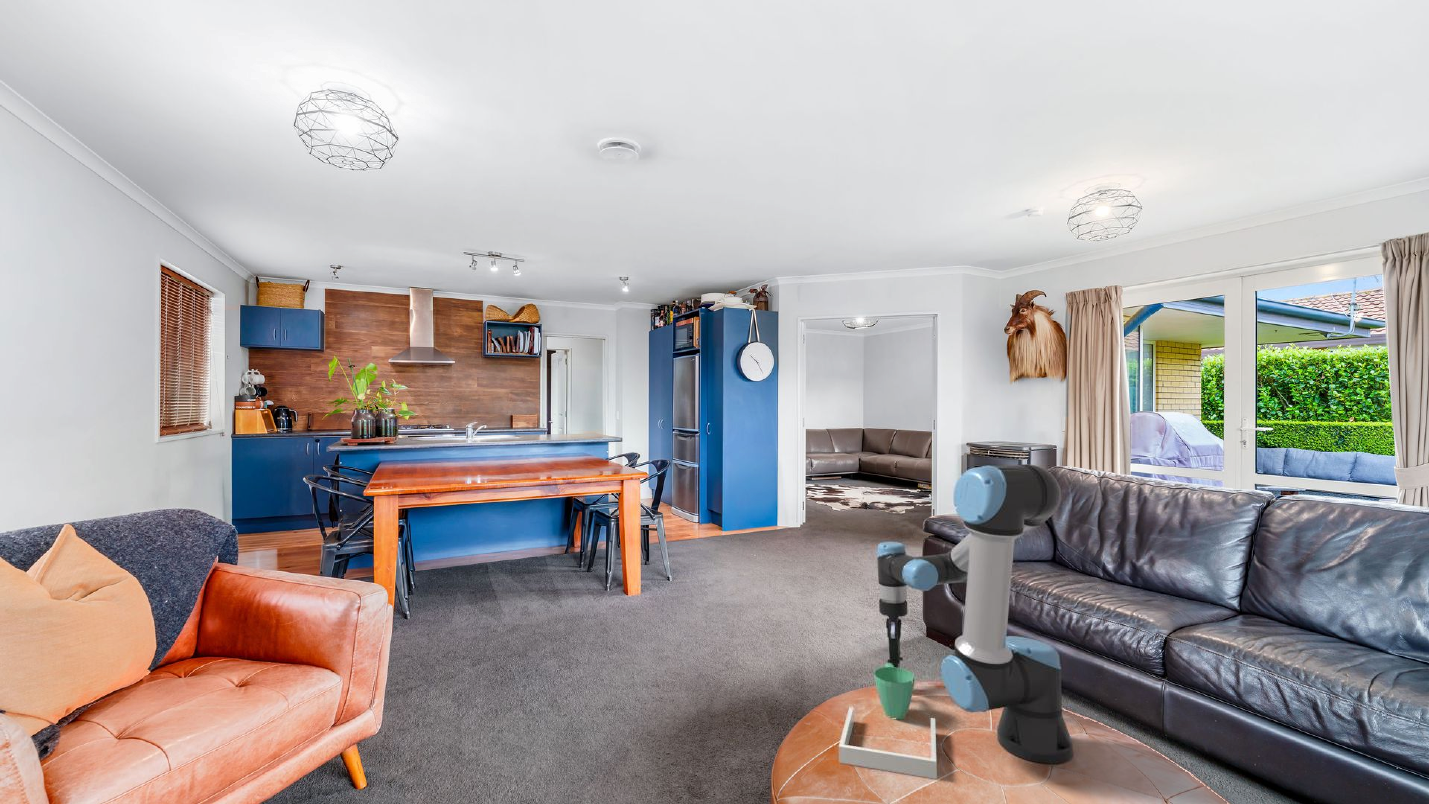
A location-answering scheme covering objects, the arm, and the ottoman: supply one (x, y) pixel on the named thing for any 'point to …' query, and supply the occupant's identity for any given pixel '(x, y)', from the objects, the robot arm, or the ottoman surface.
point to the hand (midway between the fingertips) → (896, 685)
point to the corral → (886, 755)
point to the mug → (894, 690)
